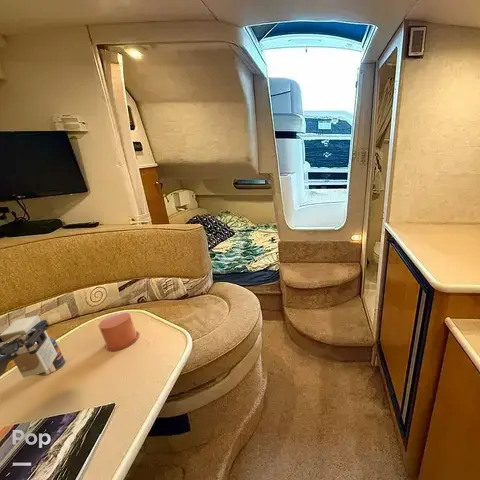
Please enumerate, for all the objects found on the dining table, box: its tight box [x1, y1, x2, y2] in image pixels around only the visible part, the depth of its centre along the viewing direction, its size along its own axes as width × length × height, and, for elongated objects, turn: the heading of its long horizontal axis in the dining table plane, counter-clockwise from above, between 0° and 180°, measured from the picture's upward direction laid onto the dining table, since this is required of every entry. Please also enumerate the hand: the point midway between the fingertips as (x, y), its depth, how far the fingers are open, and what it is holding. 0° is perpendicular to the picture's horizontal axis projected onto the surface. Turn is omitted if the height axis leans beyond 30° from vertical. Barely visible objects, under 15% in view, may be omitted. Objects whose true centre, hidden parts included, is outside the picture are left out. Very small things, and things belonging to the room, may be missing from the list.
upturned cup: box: [97, 311, 140, 353], centre depth 88 cm, size 9×9×9 cm
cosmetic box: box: [0, 315, 57, 378], centre depth 63 cm, size 6×4×12 cm
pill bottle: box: [38, 336, 66, 376], centre depth 78 cm, size 6×6×11 cm
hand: (32, 325), depth 64 cm, fingers closed on cosmetic box, 5 cm apart
